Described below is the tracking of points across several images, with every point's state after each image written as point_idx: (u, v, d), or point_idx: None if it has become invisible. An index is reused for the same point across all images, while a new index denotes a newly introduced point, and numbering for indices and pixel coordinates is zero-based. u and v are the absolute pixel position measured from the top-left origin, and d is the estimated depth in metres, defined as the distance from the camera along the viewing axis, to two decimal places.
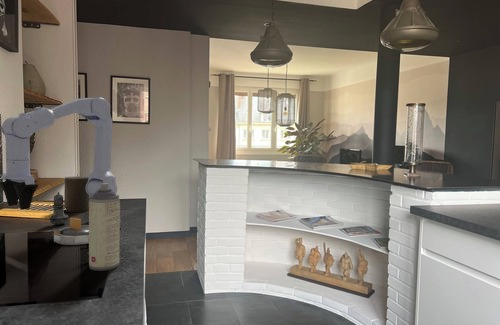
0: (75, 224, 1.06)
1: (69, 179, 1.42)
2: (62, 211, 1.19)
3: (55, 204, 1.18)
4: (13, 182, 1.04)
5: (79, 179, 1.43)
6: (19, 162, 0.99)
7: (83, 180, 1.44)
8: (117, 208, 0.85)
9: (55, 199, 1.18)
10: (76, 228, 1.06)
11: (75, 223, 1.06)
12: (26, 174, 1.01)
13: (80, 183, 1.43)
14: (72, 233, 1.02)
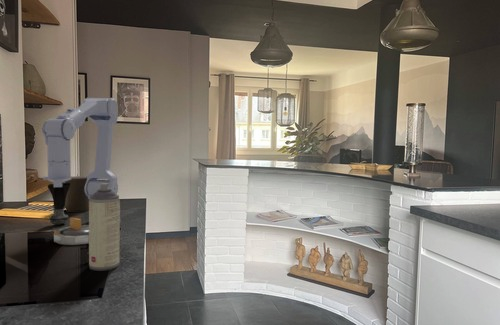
0: (75, 224, 1.06)
1: None
2: (62, 211, 1.19)
3: None
4: None
5: (79, 179, 1.43)
6: (55, 164, 0.98)
7: (83, 180, 1.44)
8: (117, 208, 0.85)
9: None
10: (76, 228, 1.06)
11: (75, 223, 1.06)
12: (62, 176, 0.99)
13: (80, 183, 1.43)
14: (72, 233, 1.02)
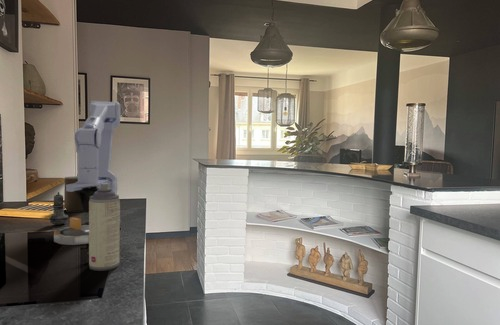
0: (75, 224, 1.06)
1: (69, 179, 1.42)
2: (62, 211, 1.19)
3: (55, 204, 1.18)
4: None
5: None
6: (79, 170, 1.06)
7: None
8: (117, 208, 0.85)
9: (55, 199, 1.18)
10: (76, 228, 1.06)
11: (75, 223, 1.06)
12: (83, 182, 1.06)
13: None
14: (72, 233, 1.02)
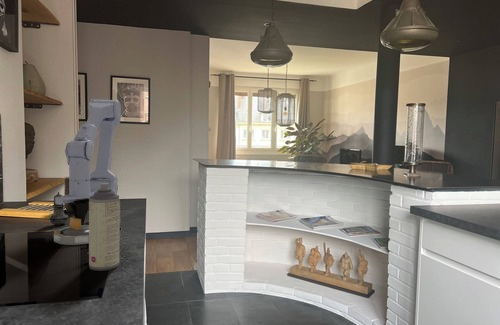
0: (75, 224, 1.06)
1: None
2: (62, 211, 1.19)
3: (55, 204, 1.18)
4: None
5: None
6: (70, 182, 1.06)
7: None
8: (117, 208, 0.85)
9: None
10: (76, 228, 1.06)
11: (75, 223, 1.06)
12: (74, 194, 1.05)
13: None
14: (72, 233, 1.02)
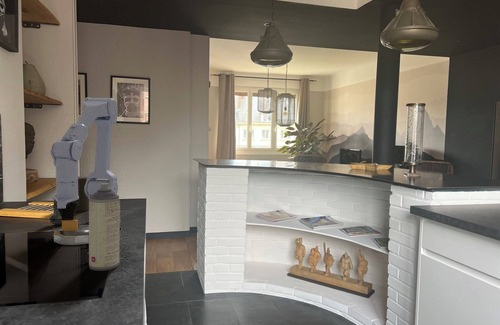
0: (73, 225, 1.04)
1: None
2: None
3: (55, 204, 1.18)
4: None
5: (79, 179, 1.43)
6: (61, 185, 1.01)
7: (83, 180, 1.44)
8: (117, 208, 0.85)
9: None
10: (75, 229, 1.05)
11: (73, 225, 1.04)
12: (69, 197, 1.02)
13: (80, 183, 1.43)
14: (84, 233, 1.02)
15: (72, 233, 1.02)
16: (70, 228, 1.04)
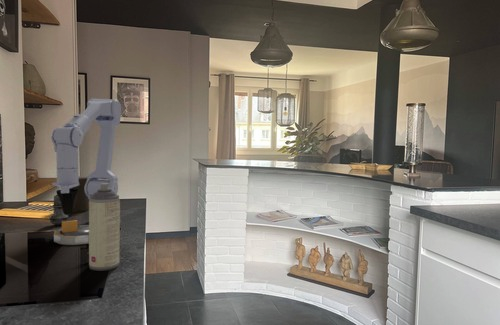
0: (74, 226, 1.04)
1: None
2: (62, 211, 1.19)
3: (55, 204, 1.18)
4: None
5: (79, 179, 1.43)
6: (63, 170, 1.02)
7: (83, 180, 1.44)
8: (117, 208, 0.85)
9: (55, 199, 1.18)
10: (76, 229, 1.04)
11: (74, 225, 1.04)
12: (70, 182, 1.03)
13: (80, 183, 1.43)
14: (88, 232, 1.03)
15: (76, 233, 1.02)
16: (71, 229, 1.03)
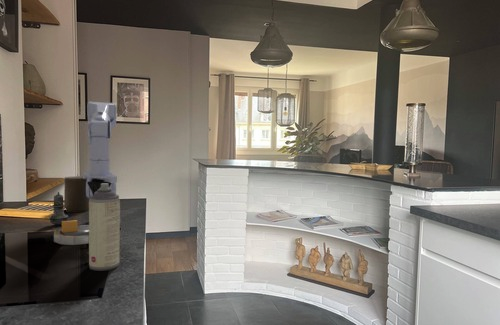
0: (74, 226, 1.04)
1: (69, 179, 1.42)
2: (62, 211, 1.19)
3: (55, 204, 1.18)
4: None
5: (79, 179, 1.43)
6: (102, 162, 1.07)
7: (83, 180, 1.44)
8: (117, 208, 0.85)
9: (55, 199, 1.18)
10: (76, 229, 1.04)
11: (74, 225, 1.04)
12: (107, 173, 1.09)
13: (80, 183, 1.43)
14: (88, 232, 1.03)
15: (76, 233, 1.02)
16: (71, 229, 1.03)
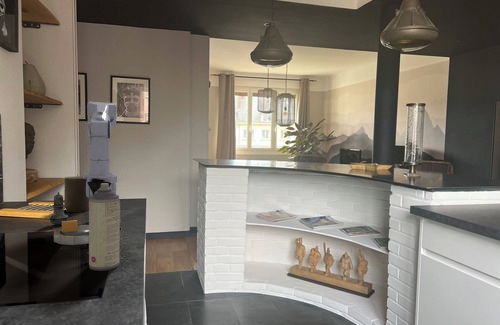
0: (74, 226, 1.04)
1: (69, 179, 1.42)
2: (62, 211, 1.19)
3: (55, 204, 1.18)
4: None
5: (79, 179, 1.43)
6: (102, 162, 1.07)
7: (83, 180, 1.44)
8: (117, 208, 0.85)
9: (55, 199, 1.18)
10: (76, 229, 1.04)
11: (74, 225, 1.04)
12: (107, 173, 1.09)
13: (80, 183, 1.43)
14: (88, 232, 1.03)
15: (76, 233, 1.02)
16: (71, 229, 1.03)
